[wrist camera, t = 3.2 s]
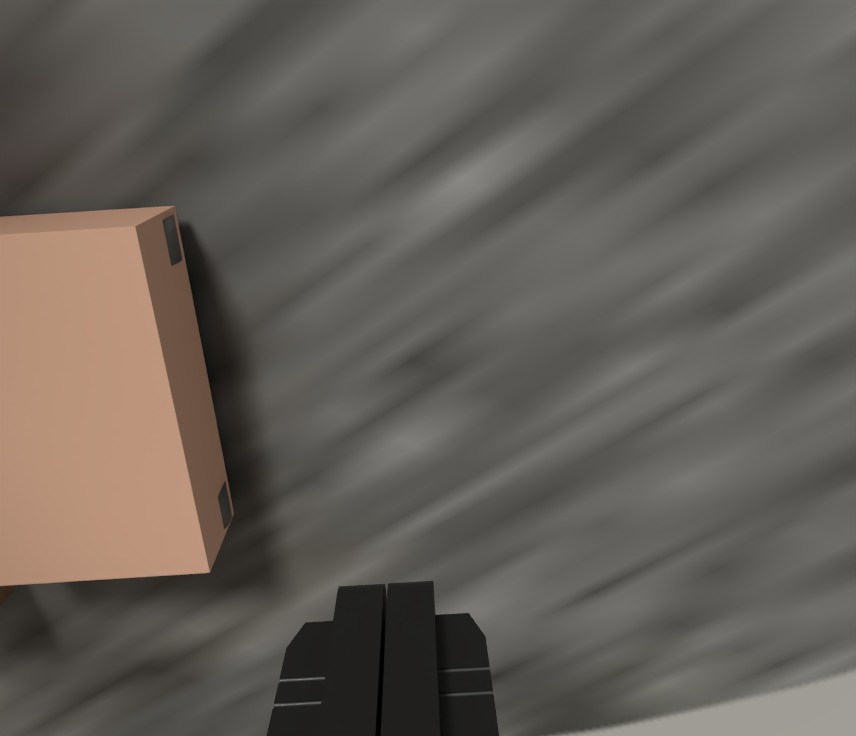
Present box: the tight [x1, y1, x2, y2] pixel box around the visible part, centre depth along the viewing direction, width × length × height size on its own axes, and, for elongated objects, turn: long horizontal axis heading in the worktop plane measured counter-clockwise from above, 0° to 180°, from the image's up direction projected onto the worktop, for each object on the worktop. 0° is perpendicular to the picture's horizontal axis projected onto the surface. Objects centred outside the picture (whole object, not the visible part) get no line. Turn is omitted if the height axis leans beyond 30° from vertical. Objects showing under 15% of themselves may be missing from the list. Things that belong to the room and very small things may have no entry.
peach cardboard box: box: [0, 206, 234, 586], centre depth 20 cm, size 10×7×4 cm
